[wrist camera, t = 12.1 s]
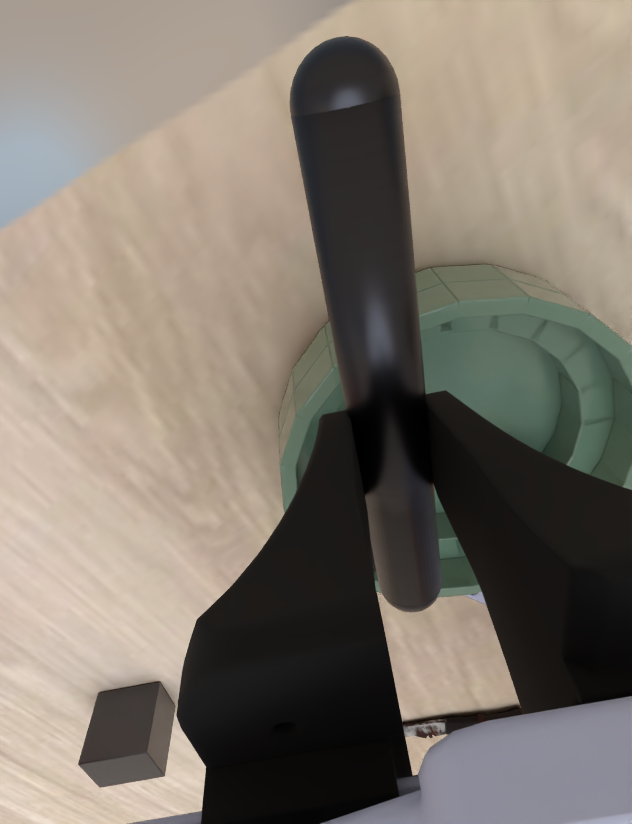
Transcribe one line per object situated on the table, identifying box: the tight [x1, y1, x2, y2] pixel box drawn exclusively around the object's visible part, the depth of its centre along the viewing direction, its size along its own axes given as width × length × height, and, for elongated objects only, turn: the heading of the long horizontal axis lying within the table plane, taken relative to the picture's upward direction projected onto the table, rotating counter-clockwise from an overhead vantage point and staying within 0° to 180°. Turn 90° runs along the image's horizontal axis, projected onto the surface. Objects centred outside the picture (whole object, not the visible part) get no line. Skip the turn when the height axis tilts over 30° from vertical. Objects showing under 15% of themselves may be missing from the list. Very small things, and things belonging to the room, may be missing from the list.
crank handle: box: [290, 36, 442, 612], centre depth 14 cm, size 17×4×6 cm, turn 11°
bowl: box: [279, 264, 632, 597], centre depth 22 cm, size 14×14×4 cm
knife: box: [403, 708, 523, 738], centre depth 38 cm, size 18×1×5 cm
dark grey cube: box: [78, 682, 175, 787], centre depth 32 cm, size 3×4×4 cm
